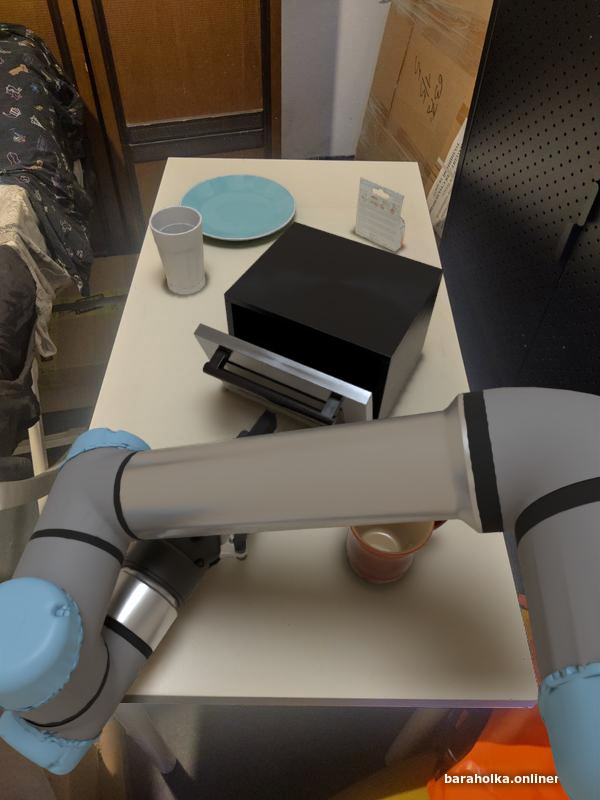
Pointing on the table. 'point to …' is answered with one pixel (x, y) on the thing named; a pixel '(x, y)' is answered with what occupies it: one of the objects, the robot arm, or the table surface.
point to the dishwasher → (337, 309)
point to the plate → (240, 206)
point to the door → (282, 382)
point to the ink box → (380, 216)
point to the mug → (386, 548)
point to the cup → (180, 247)
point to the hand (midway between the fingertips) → (271, 418)
